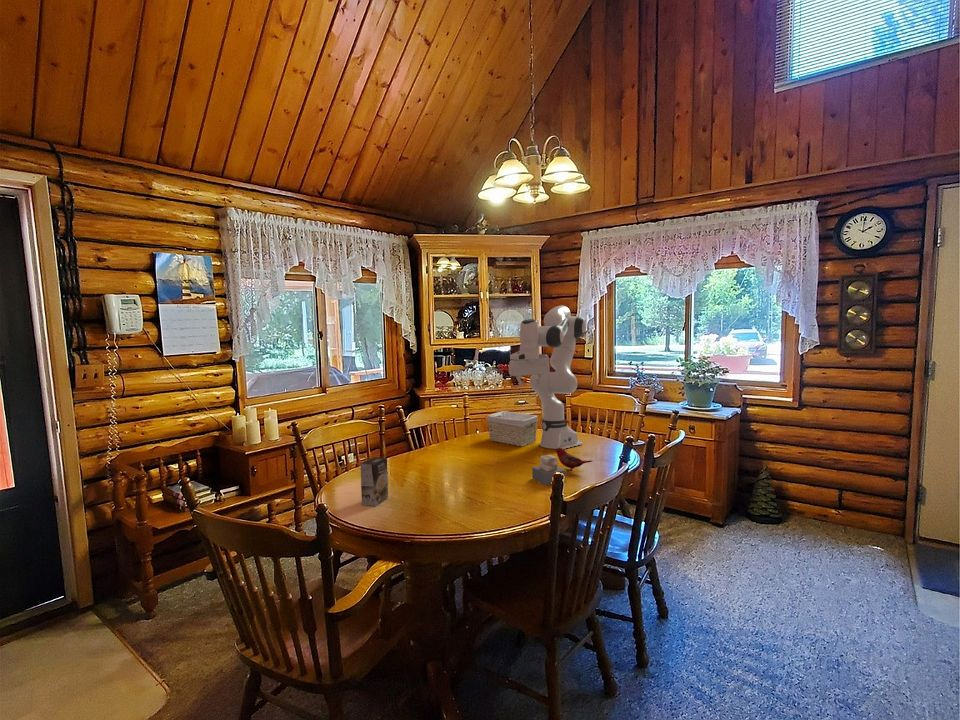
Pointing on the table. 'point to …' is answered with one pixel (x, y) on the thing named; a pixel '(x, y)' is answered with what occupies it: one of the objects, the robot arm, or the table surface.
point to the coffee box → (374, 481)
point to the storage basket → (512, 428)
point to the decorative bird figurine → (569, 459)
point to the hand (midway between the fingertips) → (529, 384)
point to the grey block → (545, 474)
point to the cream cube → (548, 462)
